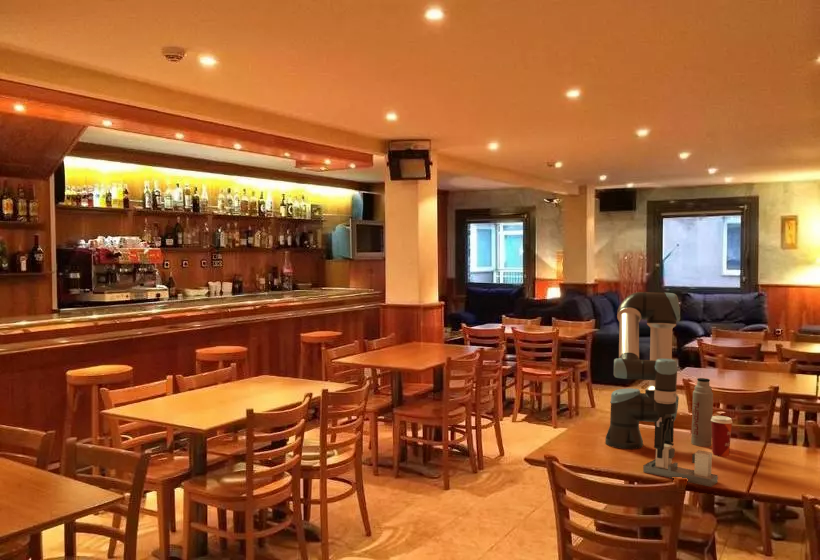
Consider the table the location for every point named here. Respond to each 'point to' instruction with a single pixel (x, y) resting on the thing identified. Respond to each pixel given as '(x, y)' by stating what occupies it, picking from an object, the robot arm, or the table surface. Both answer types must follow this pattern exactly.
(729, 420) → the coffee cup
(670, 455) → the cream rectangular block
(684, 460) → the table surface
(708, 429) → the thermos bottle
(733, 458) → the table surface
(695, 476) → the rail
